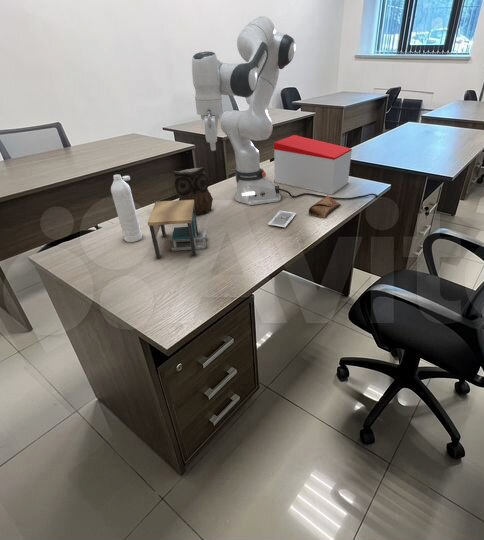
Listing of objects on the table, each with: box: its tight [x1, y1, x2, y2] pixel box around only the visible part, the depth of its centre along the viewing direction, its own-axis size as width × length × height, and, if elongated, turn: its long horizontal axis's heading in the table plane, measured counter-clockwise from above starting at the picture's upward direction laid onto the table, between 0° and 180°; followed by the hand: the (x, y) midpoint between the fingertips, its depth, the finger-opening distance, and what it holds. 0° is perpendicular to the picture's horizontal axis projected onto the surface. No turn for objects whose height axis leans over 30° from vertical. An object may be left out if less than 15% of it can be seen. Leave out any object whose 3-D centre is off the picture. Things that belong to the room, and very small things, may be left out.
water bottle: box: [110, 173, 143, 243], centre depth 126 cm, size 9×6×25 cm
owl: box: [173, 166, 214, 217], centre depth 148 cm, size 13×13×20 cm
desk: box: [147, 199, 199, 260], centre depth 125 cm, size 14×18×14 cm
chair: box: [171, 212, 207, 252], centre depth 126 cm, size 12×8×12 cm, turn 99°
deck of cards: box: [267, 210, 297, 228], centre depth 146 cm, size 8×15×2 cm, turn 160°
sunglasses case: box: [308, 194, 342, 218], centre depth 156 cm, size 18×7×7 cm
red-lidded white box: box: [273, 134, 353, 195], centre depth 182 cm, size 21×35×21 cm, turn 57°
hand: (213, 149), depth 124 cm, fingers closed
